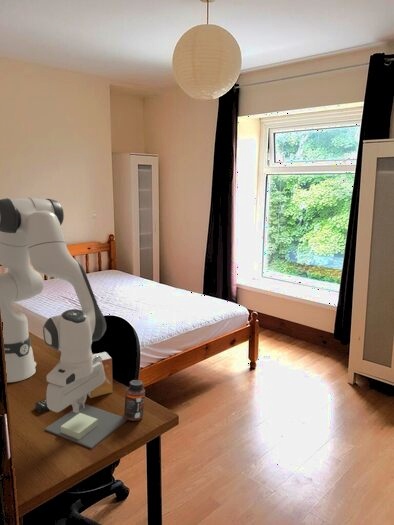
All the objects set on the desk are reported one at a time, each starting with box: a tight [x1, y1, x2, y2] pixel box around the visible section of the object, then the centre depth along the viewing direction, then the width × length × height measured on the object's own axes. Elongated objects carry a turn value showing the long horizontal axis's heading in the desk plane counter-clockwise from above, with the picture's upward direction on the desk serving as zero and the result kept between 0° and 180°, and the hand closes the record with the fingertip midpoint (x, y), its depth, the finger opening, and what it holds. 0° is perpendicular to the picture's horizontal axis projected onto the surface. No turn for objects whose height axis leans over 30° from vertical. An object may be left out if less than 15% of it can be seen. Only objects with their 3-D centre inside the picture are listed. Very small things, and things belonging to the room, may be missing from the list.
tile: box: [61, 413, 98, 439], centre depth 122 cm, size 7×2×8 cm
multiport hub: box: [34, 398, 51, 414], centre depth 137 cm, size 4×14×2 cm, turn 140°
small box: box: [87, 351, 113, 399], centre depth 143 cm, size 8×6×13 cm
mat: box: [44, 403, 128, 450], centre depth 125 cm, size 18×16×1 cm
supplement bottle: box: [123, 379, 146, 422], centre depth 128 cm, size 6×6×11 cm
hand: (78, 410), depth 121 cm, fingers closed
